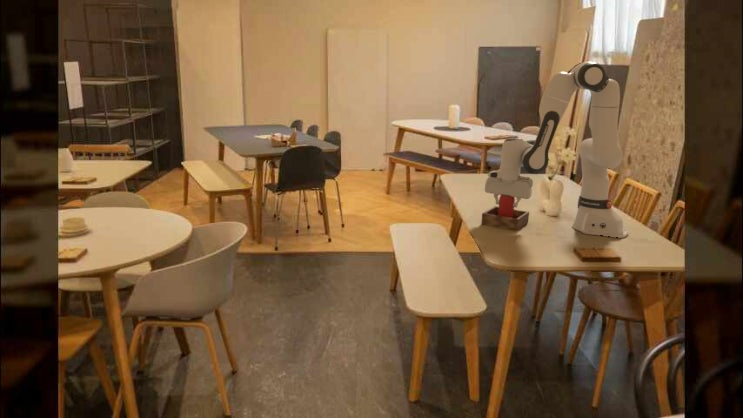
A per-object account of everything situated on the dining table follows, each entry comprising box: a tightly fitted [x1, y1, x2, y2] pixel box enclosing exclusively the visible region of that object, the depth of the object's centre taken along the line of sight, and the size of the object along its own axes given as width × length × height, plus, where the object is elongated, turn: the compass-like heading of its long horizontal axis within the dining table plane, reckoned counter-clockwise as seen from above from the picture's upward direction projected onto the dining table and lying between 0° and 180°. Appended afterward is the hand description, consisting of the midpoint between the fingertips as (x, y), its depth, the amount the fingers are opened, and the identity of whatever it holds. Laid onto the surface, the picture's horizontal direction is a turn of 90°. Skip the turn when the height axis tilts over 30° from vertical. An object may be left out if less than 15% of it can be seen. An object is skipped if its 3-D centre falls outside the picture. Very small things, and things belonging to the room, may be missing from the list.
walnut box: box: [481, 205, 530, 232], centre depth 252 cm, size 16×16×5 cm
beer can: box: [498, 194, 516, 218], centre depth 251 cm, size 7×7×12 cm
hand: (506, 205), depth 251 cm, fingers closed on beer can, 6 cm apart
